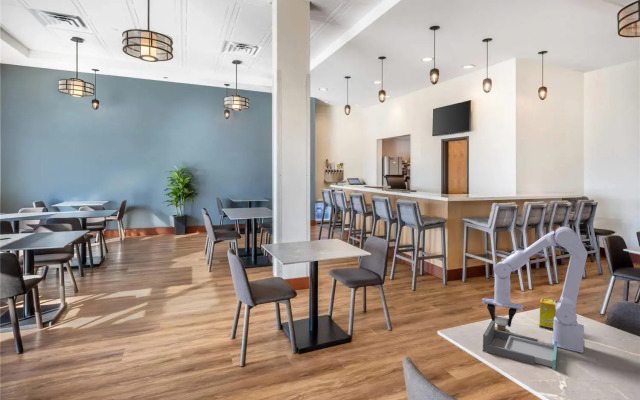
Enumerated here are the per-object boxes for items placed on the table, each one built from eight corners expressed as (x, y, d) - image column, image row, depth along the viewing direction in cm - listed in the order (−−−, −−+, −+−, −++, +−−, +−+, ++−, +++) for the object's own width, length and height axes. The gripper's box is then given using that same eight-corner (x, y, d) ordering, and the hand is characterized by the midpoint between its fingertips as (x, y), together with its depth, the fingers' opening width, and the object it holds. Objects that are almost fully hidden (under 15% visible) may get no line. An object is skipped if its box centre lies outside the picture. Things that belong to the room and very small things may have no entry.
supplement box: (539, 322, 148) (540, 297, 148) (556, 325, 145) (557, 300, 144) (538, 327, 144) (539, 301, 143) (556, 330, 140) (557, 304, 140)
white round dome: (509, 322, 140) (509, 317, 140) (507, 326, 136) (507, 321, 136) (495, 319, 143) (495, 314, 143) (493, 323, 139) (493, 318, 139)
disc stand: (510, 330, 140) (510, 322, 140) (508, 336, 135) (508, 327, 135) (494, 327, 144) (494, 319, 144) (491, 332, 139) (492, 323, 139)
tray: (557, 350, 123) (557, 341, 123) (555, 369, 111) (555, 360, 110) (510, 339, 132) (510, 330, 132) (503, 356, 120) (503, 347, 119)
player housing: (537, 346, 127) (537, 330, 127) (533, 364, 114) (534, 347, 114) (491, 335, 136) (491, 320, 136) (482, 351, 123) (483, 334, 123)
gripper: (480, 290, 140) (480, 323, 140) (521, 297, 131) (520, 332, 132) (484, 286, 145) (483, 317, 146) (523, 292, 137) (522, 326, 137)
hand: (501, 324), depth 139 cm, fingers closed on white round dome, 5 cm apart
